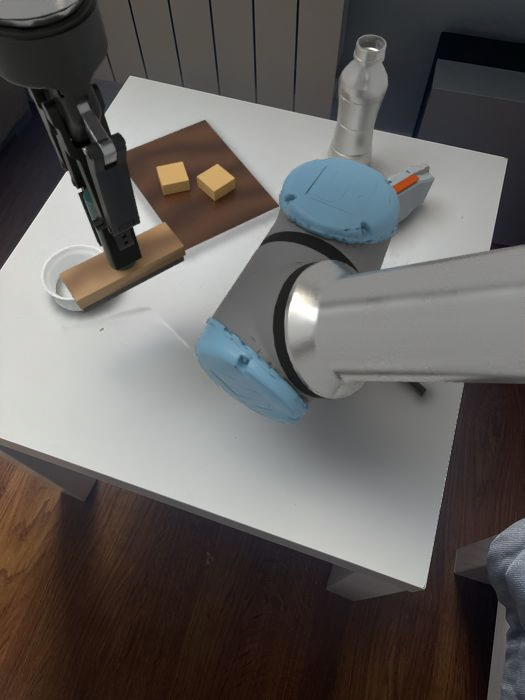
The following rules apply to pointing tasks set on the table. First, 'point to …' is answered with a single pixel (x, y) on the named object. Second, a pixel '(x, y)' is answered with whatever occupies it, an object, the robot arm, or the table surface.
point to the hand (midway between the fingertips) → (119, 249)
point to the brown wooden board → (195, 205)
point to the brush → (107, 282)
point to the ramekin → (61, 263)
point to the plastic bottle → (360, 101)
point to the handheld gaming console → (411, 187)
